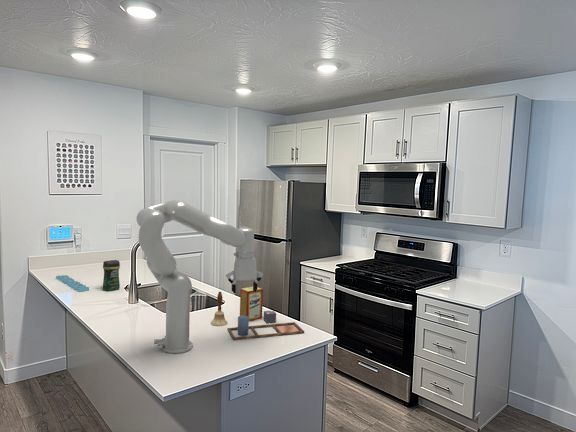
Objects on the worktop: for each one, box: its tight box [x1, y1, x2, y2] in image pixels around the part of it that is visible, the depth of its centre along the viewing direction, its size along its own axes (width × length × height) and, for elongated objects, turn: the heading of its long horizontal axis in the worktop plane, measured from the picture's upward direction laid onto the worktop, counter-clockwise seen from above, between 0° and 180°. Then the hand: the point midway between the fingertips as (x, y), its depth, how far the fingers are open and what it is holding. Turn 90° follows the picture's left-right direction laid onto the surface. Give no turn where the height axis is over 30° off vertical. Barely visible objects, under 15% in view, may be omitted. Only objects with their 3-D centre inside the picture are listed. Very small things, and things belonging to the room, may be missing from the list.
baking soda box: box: [239, 286, 264, 322], centre depth 208 cm, size 10×6×16 cm
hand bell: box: [210, 291, 228, 327], centre depth 199 cm, size 8×8×16 cm
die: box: [263, 309, 277, 325], centre depth 204 cm, size 5×5×5 cm
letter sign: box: [55, 274, 90, 293], centre depth 262 cm, size 45×6×2 cm, turn 46°
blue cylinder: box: [237, 315, 250, 337], centre depth 186 cm, size 5×5×8 cm
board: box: [227, 321, 305, 341], centre depth 190 cm, size 34×13×1 cm, turn 110°
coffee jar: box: [102, 259, 121, 292], centre depth 252 cm, size 10×8×19 cm
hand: (244, 291), depth 185 cm, fingers open, 9 cm apart
